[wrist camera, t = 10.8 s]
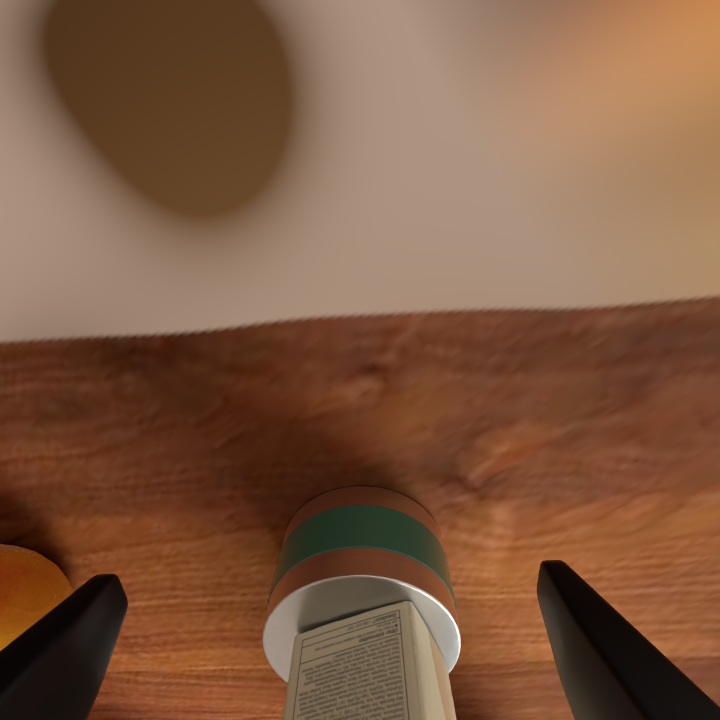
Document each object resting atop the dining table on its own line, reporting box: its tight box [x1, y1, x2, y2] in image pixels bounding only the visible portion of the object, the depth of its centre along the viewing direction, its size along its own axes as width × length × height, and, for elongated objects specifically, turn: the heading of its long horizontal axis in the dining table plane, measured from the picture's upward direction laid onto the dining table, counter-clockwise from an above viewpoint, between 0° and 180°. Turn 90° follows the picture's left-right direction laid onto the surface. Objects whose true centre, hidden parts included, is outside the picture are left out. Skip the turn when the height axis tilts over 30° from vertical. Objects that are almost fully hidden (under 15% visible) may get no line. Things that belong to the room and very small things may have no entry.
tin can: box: [262, 486, 461, 683], centre depth 20 cm, size 8×8×5 cm
